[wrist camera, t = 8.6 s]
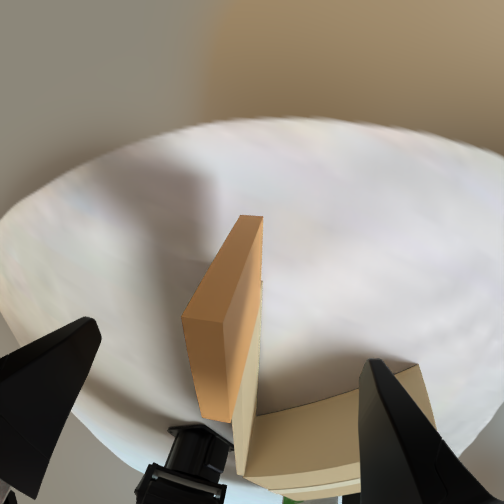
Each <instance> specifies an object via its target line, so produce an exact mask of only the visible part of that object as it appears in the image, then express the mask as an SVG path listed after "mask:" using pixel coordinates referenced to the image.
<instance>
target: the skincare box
mask: <svg viewBox="0 0 504 504" xmlns="http://www.w3.org/2000/svg"><path fill="white" fill-rule="evenodd" d="M282 504H338V496H336V497H329V498H321V499H313V500H302V501H295V500H292V499H290V498H287V497H285V496H283V501H282Z"/></svg>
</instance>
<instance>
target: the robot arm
mask: <svg viewBox="0 0 504 504" xmlns="http://www.w3.org/2000/svg"><path fill="white" fill-rule="evenodd" d="M101 340H102V337H101V333H100V331H99V328H98V325H97V323H96V321H95V319H93V318H90V317H86V316H85V317H82V318H80V319H78V320H76V321H74V322H72V323H70V324H68V325H66V326H64V327H62V328H60V329H58V330H56V331H53V332H51V333H49V334H47V335H45V336H43V337H41V338H39V339H37V340H35V341H33V342H31V343H29V344H27V345H25V346H23V347H21V348H20V349H17V350H16V351H14V352H12V353H10V354H9V355H6V356H4V357H2V358H0V504H17V500H16V496H15V493H14V492H13V491H12V490H11V488H12V487H14V488H15V489H17V490H19V491H20V492H22V493H24V494H25V495H27V496H29V497H31V498H32V499H34V500H35V499H36V498H37V495H38V492H39V489H40V486H41V483H42V480H43V477H44V475H45V472H46V469H47V467H48V464H49V461H50V458H51V456H52V453H53V451H54V448H55V446H56V443H57V441H58V438H59V436H60V434H61V431H62V429H63V427H64V424H65V422H66V420H67V418H68V416H69V413H70V411H71V409H72V407H73V405H74V403H75V400H76V398H77V396H78V394H79V392H80V390H81V388H82V386H83V384H84V382H85V380H86V378H87V376H88V373H89V371H90V368H91V366H92V363H93V361H94V358H95V355H96V353H97V351H98V348H99V346H100V343H101ZM167 431H168V432H169V433H170V434H172V435H173V436H175V440H174V442H173V445H172V448H171V450H170V453H169V456H168V458H167V461H166V463H165V466H164V467H163V466H160V465H158V464H156V463H154V462H153V464H149V465H148V467H147V470H146V472H145V474H144V476H143V478H142V479H141V481H140V483H139V484H138V486H137V487H136V489H135V491H134V493H135V495H136V500H137V502H136V504H224V499H225V494H226V489H227V485H224V484H222V485H221V484H218V482H219V478H220V474H221V473H223V471H224V467H225V463H226V459H227V455H228V452H230V451H235V450H234V445H232V444H231V443H229V442H228V441H226V440H225V439H223V438H222V437H220V436H219V435H218V434H216V433H215V432H213V431H212V430H211V429H209V428H208V427H206V426H204V425H195V426H184V427H172V428H168V430H167ZM358 436H359V453H360V482H361V504H504V501H501V500H499V499H497V498H495V497H493V496H492V495H491V494H490V493H489V492H488V491H487V490H486V489H485V488H484V487H483V486H482V485H481V484H480V483H479V482H478V481H477V479H476V478H475V477H474V476H473V475H472V474H471V473H470V472H469V471H468V470H467V469H466V467H465V466H464V465H463V464H462V463H461V462H460V461H459V459H458V458H457V457H456V456H455V454H454V453H453V452H452V450H451V449H450V448H449V446H448V445H447V444H446V442H445V441H444V440H443V439H442V437H441V436H440V434H439V433H438V432H437V430H436V429H435V428H434V426H433V425H432V424H431V422H430V421H429V420H428V418H427V417H426V416H425V414H424V413H423V412H422V410H421V409H420V408H419V407H418V405H417V404H416V403H415V401H414V400H413V399H412V397H411V396H410V395H409V394H408V392H407V391H406V390H405V388H404V387H403V386H402V385H401V383H400V382H399V381H398V379H397V378H396V377H395V376H394V374H393V373H392V372H391V371H390V369H389V368H388V367H387V366H386V364H385V363H384V362H383V361H382V360H381V359H378V358H369V359H368V360H367V361H366V363H365V366H364V368H363V370H362V373H361V375H360V379H359V408H358ZM214 495H216V496H215V497H214Z"/></svg>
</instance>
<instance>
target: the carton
mask: <svg viewBox="0 0 504 504" xmlns="http://www.w3.org/2000/svg"><path fill="white" fill-rule="evenodd" d="M394 376H395V377H396V378H397V379H398V381H399V382H400V383H401V385H402V386H403V387H404V388H405V390H406V391H407V392H408V394H409V395H410V396H411V397H412V399H413V400H414V401H415V403H416V404H417V405H418V407H419V408H420V409H421V410H422V412H423V413H424V414H425V416H426V417H427V418H428V420H429V421H430V422H431V424H432V425H433V426H434V428H435V429H436V430H437V428H436V424H435V420H434V416H433V412H432V408H431V404H430V400H429V397H428V393H427V390H426V387H425V383H424V380H423V377H422V373H421V370H420V367H419V364H418V365H416V366H414V367H411V368H409V369H407V370H405V371H402V372H400V373H398V374H395V375H394ZM358 408H359V389H356V390H353V391H350V392H347V393H344V394H341V395H338V396H335V397H331V398H328V399H325V400H321V401H318V402H314V403H311V404H307V405H303V406H300V407H296V408H292V409H287V410H283V411H279V412H274V413H270V414H265V415H260V416H256V419H255V425H254V430H253V435H252V439H251V444H250V449H249V454H248V459H247V463H246V468H245V473H244V476H243V478H245V479H247V480H249V481H251V482H253V483H255V484H257V485H259V486H262V487H264V488H266V489H268V491H271V492H273V493H275V494H280V495H282V496H285V497H287V498H290V499H292V500H295V501H302V500H313V499H321V498H329V497H336V496H342V495H348V494H353V493H358V492H361V482H360V453H359V436H358Z"/></svg>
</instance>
